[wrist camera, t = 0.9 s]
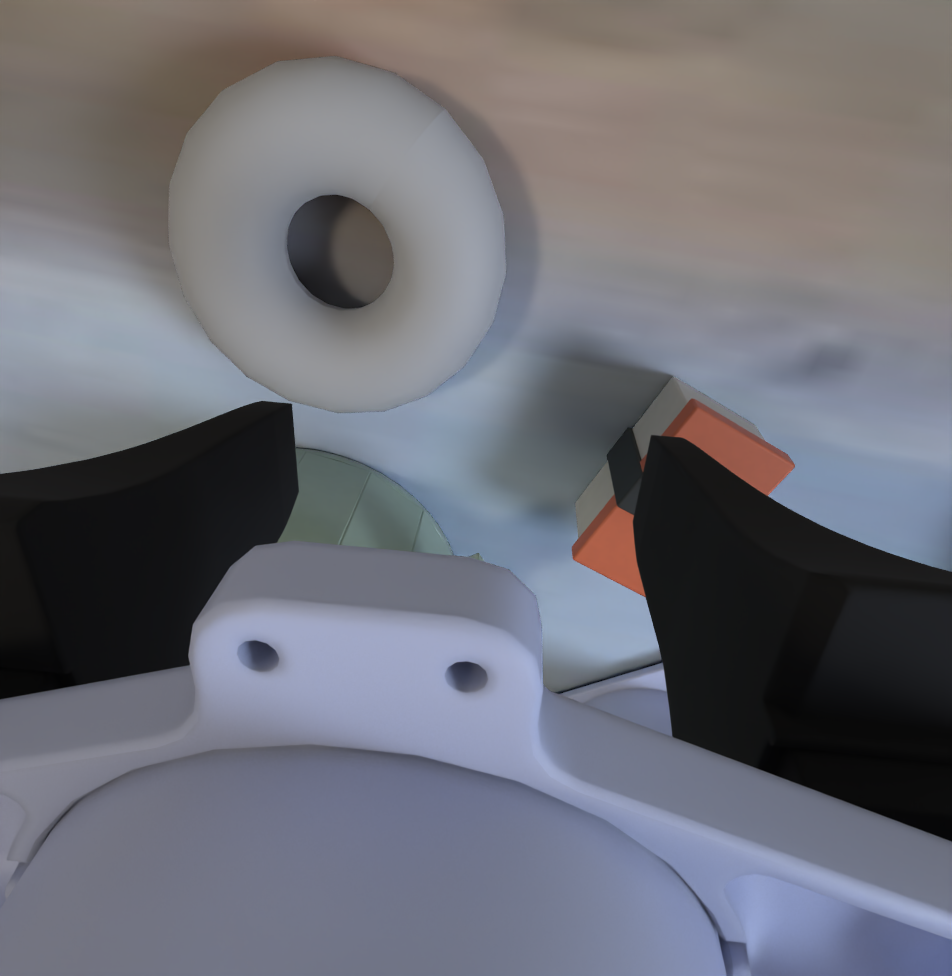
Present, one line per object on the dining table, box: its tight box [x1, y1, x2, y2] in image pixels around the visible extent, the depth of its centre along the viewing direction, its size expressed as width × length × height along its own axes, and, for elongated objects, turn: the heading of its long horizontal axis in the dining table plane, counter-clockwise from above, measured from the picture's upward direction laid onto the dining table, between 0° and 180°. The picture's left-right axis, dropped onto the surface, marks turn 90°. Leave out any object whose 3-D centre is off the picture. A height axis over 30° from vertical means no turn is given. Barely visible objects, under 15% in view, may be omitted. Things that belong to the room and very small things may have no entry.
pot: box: [277, 448, 484, 561], centre depth 26 cm, size 13×18×6 cm
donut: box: [169, 56, 507, 413], centre depth 20 cm, size 10×4×10 cm
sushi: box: [572, 377, 795, 597], centre depth 23 cm, size 7×4×4 cm, turn 150°
